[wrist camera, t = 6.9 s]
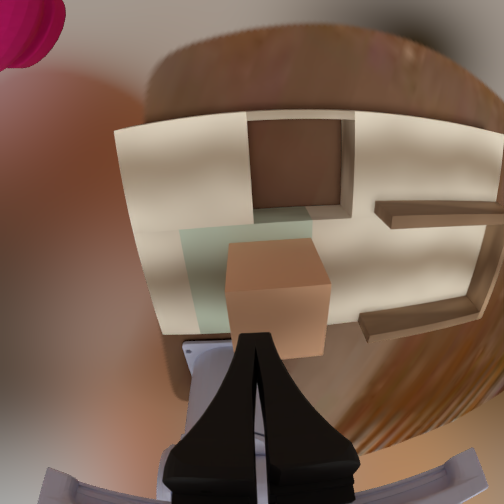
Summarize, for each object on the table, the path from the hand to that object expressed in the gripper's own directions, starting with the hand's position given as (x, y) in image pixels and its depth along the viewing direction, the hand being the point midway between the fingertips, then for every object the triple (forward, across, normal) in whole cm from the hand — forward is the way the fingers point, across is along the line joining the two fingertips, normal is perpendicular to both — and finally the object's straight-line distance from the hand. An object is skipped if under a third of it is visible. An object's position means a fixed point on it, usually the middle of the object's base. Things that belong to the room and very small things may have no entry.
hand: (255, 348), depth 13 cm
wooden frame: (+7, -14, 0) cm, 15 cm away
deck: (+9, -6, -2) cm, 12 cm away
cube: (+7, -1, +1) cm, 7 cm away
